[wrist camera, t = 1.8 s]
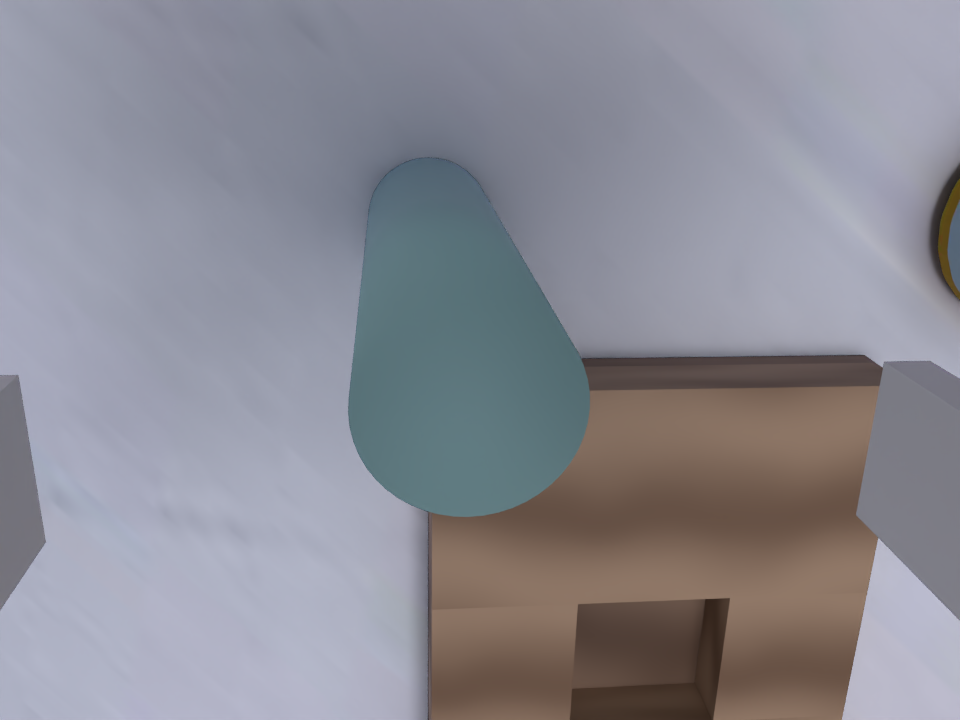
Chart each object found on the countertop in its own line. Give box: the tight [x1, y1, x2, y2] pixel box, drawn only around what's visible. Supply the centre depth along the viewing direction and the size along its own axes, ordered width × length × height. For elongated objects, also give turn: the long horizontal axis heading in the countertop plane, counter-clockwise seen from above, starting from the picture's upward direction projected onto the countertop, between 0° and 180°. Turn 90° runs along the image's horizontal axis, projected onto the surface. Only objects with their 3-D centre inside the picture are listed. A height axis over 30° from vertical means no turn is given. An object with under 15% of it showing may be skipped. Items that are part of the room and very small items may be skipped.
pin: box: [348, 158, 590, 517], centre depth 22 cm, size 4×4×16 cm
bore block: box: [428, 355, 883, 720], centre depth 35 cm, size 22×16×3 cm
